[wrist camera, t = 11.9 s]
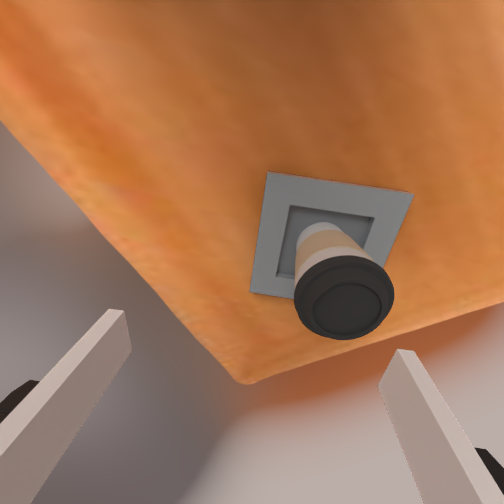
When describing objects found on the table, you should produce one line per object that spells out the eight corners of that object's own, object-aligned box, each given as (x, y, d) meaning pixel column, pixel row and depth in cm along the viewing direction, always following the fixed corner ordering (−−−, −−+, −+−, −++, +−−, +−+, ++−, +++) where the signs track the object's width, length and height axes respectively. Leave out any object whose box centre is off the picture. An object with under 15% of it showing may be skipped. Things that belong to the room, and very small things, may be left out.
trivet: (267, 170, 31) (267, 172, 29) (406, 191, 31) (414, 194, 29) (250, 284, 39) (249, 291, 37) (360, 302, 39) (364, 310, 37)
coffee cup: (367, 238, 33) (430, 307, 20) (323, 282, 37) (351, 366, 23) (316, 201, 32) (345, 248, 18) (276, 251, 35) (275, 321, 22)
